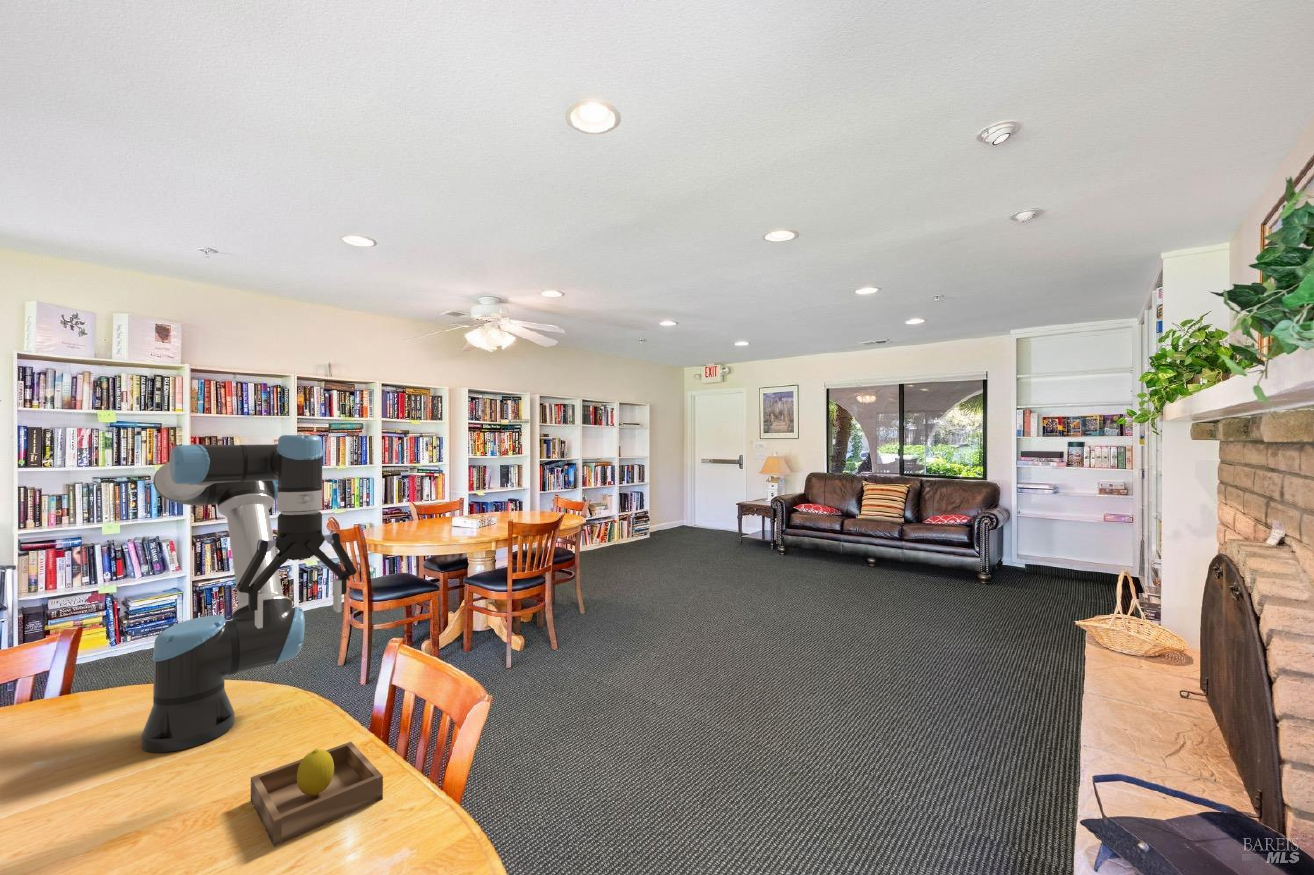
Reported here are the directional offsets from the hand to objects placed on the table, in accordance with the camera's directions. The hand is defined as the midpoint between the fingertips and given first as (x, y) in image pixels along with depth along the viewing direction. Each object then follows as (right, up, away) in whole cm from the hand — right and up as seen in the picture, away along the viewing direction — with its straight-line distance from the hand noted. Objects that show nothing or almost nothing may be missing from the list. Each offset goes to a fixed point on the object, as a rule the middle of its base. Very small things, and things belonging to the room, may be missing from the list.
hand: (299, 618), depth 112 cm
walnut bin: (+12, -27, -15) cm, 33 cm away
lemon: (+12, -26, -15) cm, 32 cm away
